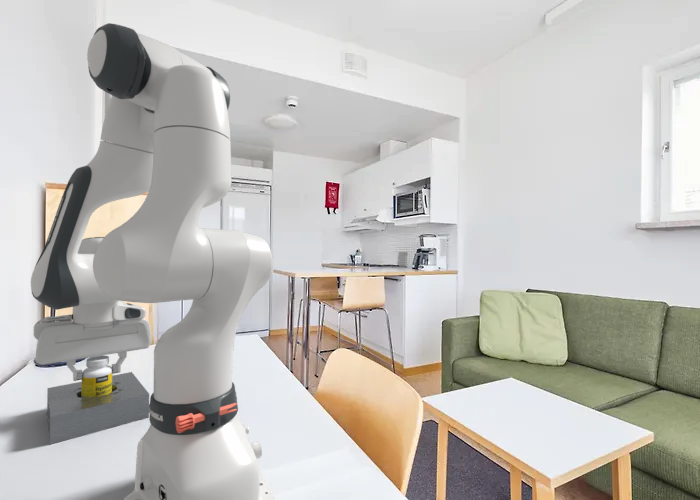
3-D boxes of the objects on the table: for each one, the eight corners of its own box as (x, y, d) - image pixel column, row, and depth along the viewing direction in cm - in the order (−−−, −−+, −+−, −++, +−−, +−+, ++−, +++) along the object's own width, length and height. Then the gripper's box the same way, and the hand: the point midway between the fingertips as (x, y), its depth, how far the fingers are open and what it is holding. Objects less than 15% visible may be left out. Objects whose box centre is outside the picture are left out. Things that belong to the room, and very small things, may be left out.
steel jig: (148, 417, 74) (149, 393, 75) (50, 444, 64) (50, 417, 64) (131, 391, 88) (131, 371, 88) (47, 410, 77) (47, 388, 77)
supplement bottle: (95, 410, 73) (96, 363, 73) (74, 406, 74) (75, 360, 74) (117, 399, 78) (118, 355, 78) (97, 396, 79) (98, 353, 79)
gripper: (33, 320, 67) (32, 393, 67) (153, 309, 80) (153, 369, 80) (33, 315, 71) (32, 383, 71) (147, 305, 85) (146, 362, 85)
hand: (97, 376), depth 76 cm, fingers closed on supplement bottle, 5 cm apart
